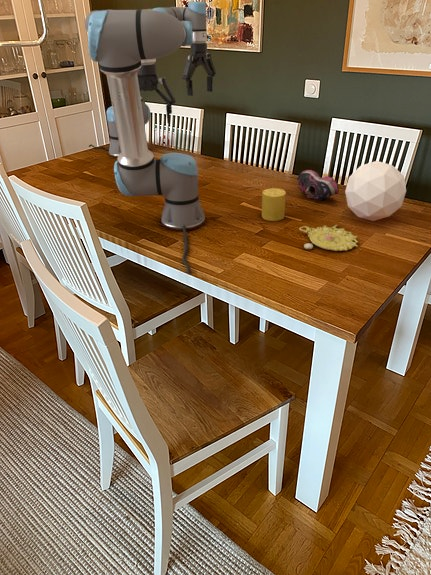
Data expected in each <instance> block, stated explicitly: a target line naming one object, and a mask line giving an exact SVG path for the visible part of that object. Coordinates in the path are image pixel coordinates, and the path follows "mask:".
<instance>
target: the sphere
mask: <svg viewBox="0 0 431 575" xmlns="http://www.w3.org/2000/svg"><path fill="white" fill-rule="evenodd" d="M347 180H348V181H347V184H346V187H345V191H344V193H345V200H346V205H347V208H349V209H350V210H351V212H353V213H354V214H355V216H356V217H358V218H360V219H364V220H368V221H371V222H375V221H379V220H382V219H385V218H388V217H390V216H392V215H393V214H394V213H395V212H396V211H398V210H399V209H400V208H402V206H403V203H404V200H405V196H406V193H407V187H406V182H405V176H404V174H403V173H402V172H401V171H399V170H398V169H397V168H396V167H395V166H394V165H393V164H390V163H386V162H382V161H378V160H375V161H372V162H367V163H365V164H362V165H359V166H358V167H357V169H355V171H354V172H352V174H351V175H349V177H348V179H347Z"/></svg>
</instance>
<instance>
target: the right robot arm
mask: <svg viewBox="0 0 431 575" xmlns="http://www.w3.org/2000/svg"><path fill="white" fill-rule="evenodd" d="M150 9H151V8H145V9H105V10H106V11H98V12H94V13H92V15H91V16H90V19H89V23H88V32H87V47H88V53H89V56H90V59H91V61H93V62H95V63H98V67H99V71H100V72H101V73H103V74H104V75H106V79H107V85H108V90H109V95H110V96H109V97H110V101H111V106H112V107H113V112H114V117H115V123H116V128H117V133H118V139H119V144H120V149H121V153H120V154H119V156H118V158H116V159H117V160H115V162H114V165H113V173H114V179H115V183H116V186H117V188H118V190H119V192H120V194H122V195H124V196H127V197H140V196H141V197H145V196H147V197H148V196H164V204H163V209H162V213H161V219H160V220H161V225H162V227H163V228H165V229H167V230H170V231H175V232H176V231H177V232H183V242H184V251H183V255H182V263H183V264H184V266H185V267H186V270H187V274H188V275H191V274H192V270H191V266H190V264H189V263H188V262H187V259H186V257H187V253H188V248H189V246H188V244H189V243H188V237H187V236H188V235H187V231H192V230H195V229H198V228H201V227H202V226H203V225H204V224H205V223H206V216H205V212H204V210H203V208H202V204H201V202H200V196H199V180H198V174H199V171H198V165H197V161H196V159H195V158H194V157H193V156H191V155H189V154H186V153H181V152H169V153H167V152H166V153H163V154H162V155H161V156H160V158H159V159H158V158H156V159H155V156H154V153H153V151H151V150H150V149H149V147H148V140H147V133H146V126H145V125H146V124H145V125H144V118H143V111H142V104H141V97H142V96H141V92H142V91H143V92H153V91H155V92H156V93H157V95H158V96H160V98H161V99H162V100H163V101H164V102H165V103H166V105H165V108H166V109H165V110H166V121H167V122H166V123H167V124H170V123H171V116H170V115H172V113H173V109H172V108H173V105H174V104H175V103H176V102H177V100H176V98H175V96H174V94H173V93H172V91H171V89H170V87H169V85H168V83H167V78H166V77H165V76H163V77H158V70H157V65H156V61H157V60H156V59H160V58H163V57H167V56H170V55H171V54H173V53H176V52H177V51H179V50H180V48H181V47H183V48H184V47H190V45H192V43H193V35H192V24H191V22H190V21H179V20H178V19H177V18H176V17H174V16H172V15H170V14H167V13H164V12H160V11H156V10H150ZM159 83H160V84H161V85H162V86H163V88H164V90H165V93H166V94H167V95H166V94H165V93H164V92H163V91H162V90H161V89H160V87H159V86H158V84H159ZM167 96H168V97H169V98H168V97H167Z"/></svg>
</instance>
